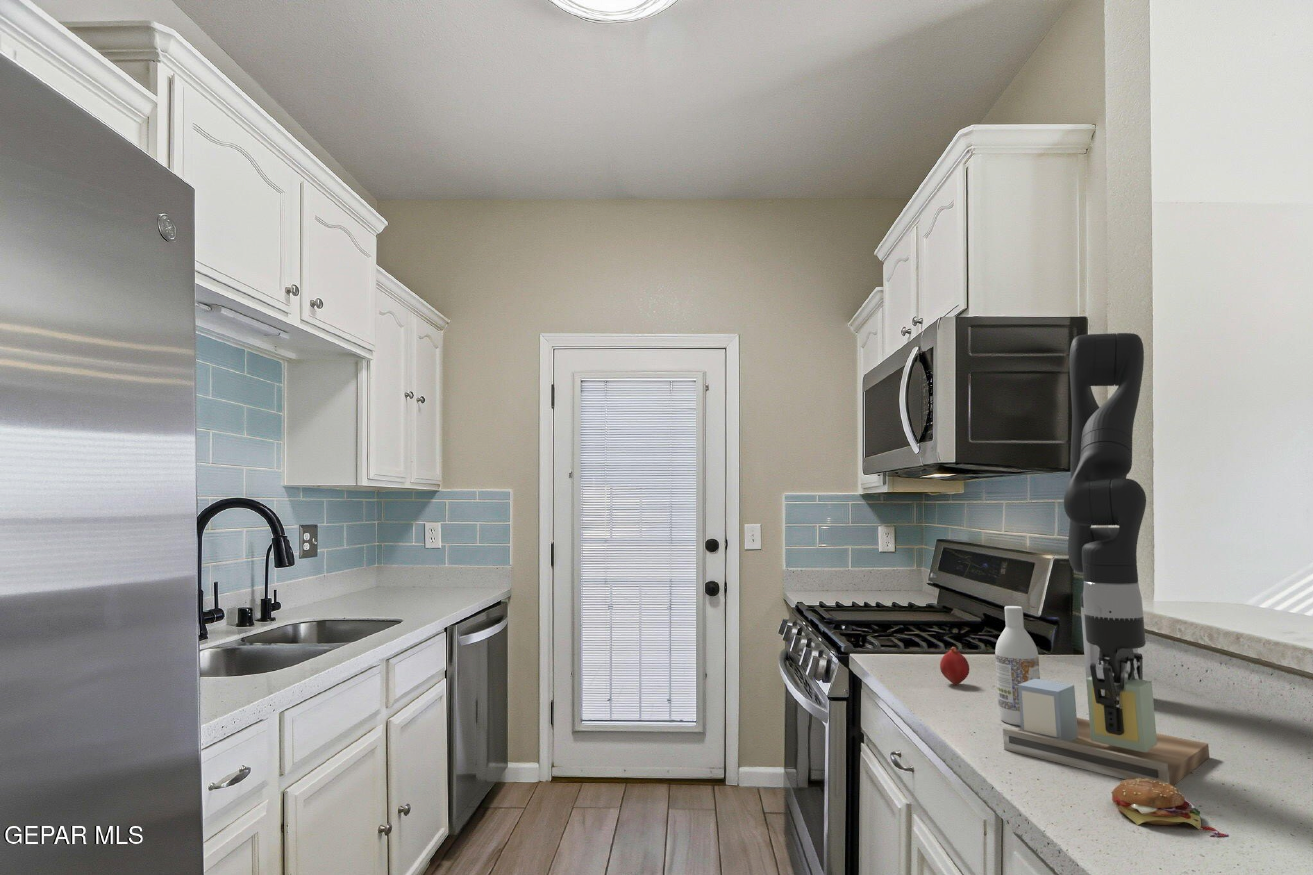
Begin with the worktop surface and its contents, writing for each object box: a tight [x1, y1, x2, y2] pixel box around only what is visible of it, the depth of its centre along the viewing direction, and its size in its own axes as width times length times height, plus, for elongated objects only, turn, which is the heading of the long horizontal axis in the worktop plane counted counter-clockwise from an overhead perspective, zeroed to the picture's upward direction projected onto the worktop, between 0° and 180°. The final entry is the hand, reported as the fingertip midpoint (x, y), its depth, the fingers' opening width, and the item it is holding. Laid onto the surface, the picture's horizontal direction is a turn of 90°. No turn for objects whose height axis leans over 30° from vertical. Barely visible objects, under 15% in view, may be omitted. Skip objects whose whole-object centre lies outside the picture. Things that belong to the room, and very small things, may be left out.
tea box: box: [1085, 677, 1157, 752], centre depth 107 cm, size 5×7×9 cm
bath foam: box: [994, 605, 1041, 727], centre depth 130 cm, size 7×7×20 cm
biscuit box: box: [1018, 678, 1078, 742], centre depth 114 cm, size 6×6×8 cm
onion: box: [939, 646, 970, 686], centre depth 155 cm, size 6×6×8 cm
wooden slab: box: [1002, 717, 1210, 786], centre depth 112 cm, size 19×22×3 cm
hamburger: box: [1111, 778, 1229, 838], centre depth 89 cm, size 14×14×6 cm
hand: (1122, 729), depth 107 cm, fingers closed on tea box, 5 cm apart
